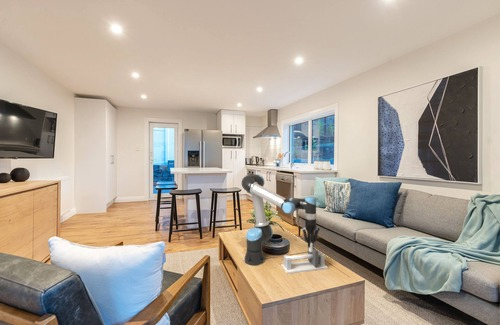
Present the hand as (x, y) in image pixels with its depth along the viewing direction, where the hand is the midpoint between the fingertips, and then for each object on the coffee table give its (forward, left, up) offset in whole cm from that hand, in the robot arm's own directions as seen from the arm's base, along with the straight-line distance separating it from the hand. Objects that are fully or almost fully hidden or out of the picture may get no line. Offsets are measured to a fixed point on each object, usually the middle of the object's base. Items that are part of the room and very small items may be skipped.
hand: (310, 251), depth 165 cm
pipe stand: (-5, 0, -11) cm, 12 cm away
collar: (+2, 0, -9) cm, 9 cm away
